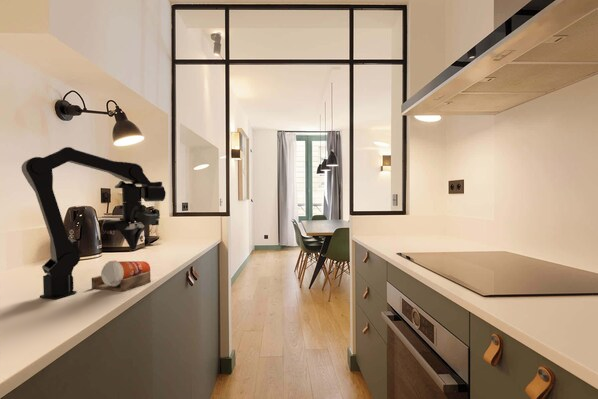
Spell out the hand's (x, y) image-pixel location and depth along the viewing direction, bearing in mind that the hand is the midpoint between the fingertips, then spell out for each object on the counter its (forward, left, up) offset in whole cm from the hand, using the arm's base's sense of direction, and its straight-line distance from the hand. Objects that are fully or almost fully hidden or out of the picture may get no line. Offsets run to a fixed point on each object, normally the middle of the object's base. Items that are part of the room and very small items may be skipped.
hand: (133, 249), depth 115 cm
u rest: (-5, 0, -10) cm, 12 cm away
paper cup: (+3, -1, -7) cm, 8 cm away
